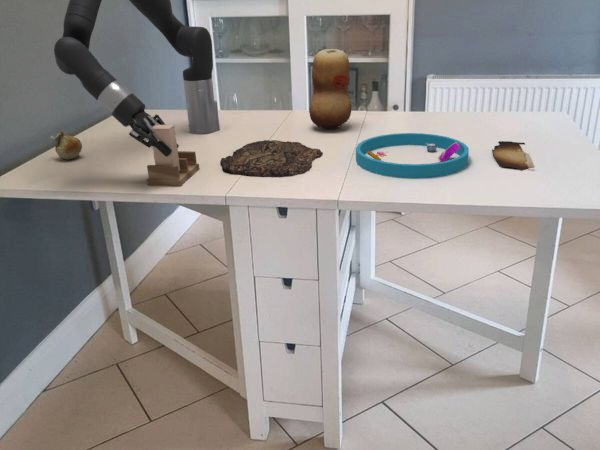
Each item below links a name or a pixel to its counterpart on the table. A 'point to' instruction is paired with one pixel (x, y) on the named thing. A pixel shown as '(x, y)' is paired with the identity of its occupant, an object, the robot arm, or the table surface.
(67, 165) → the table surface
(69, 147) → the onion
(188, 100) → the robot arm
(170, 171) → the rack
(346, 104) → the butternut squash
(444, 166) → the teal plastic ring
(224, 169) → the stone relief
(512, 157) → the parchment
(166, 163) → the clay block
